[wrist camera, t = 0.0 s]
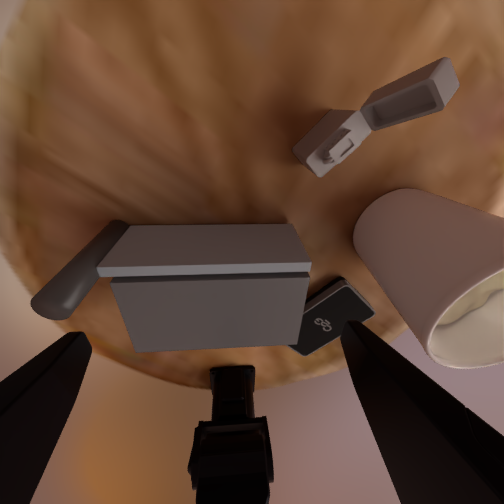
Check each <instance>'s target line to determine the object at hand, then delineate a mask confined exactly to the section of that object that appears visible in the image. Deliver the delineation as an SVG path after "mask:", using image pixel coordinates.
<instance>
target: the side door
mask: <svg viewBox="0 0 504 504" xmlns="http://www.w3.org/2000/svg"><path fill="white" fill-rule="evenodd" d="M311 264H312V262H311V260H310V258H309V256H308V254H307V252H306V250H305V248H304V246H303V244H302V242H301V240H300V238H299V236H298V235H297V233H296V231H295V229H294V227H293V225H292V224H226V225H134V226H129V225H128V224H127V223H125V222H124V221H121V220H113V221H111V222H110V223H109V224H108V225H107V226H106V227H105V228H104V229H103V230H102V231H101V232H100V233H98V234H97V235H96V236H95V237H94V238H93V239H92V240H91V241H90V242H89V243H88V244H87V245H86V246H85V247H84V248H83V249H82V250H81V251H80V252H79V253H78V254H77V255H76V256H75V257H74V258H73V259H72V260H71V261H70V262H69V263H68V264H67V265H66V266H65V267H64V268H63V269H62V270H61V271H60V272H59V273H58V274H57V275H55V276H54V277H53V278H52V279H51V280H50V281H49V282H48V283H47V284H46V285H45V286H44V287H43V288H42V289H41V290H40V291H39V292H38V293H37V294H36V295H35V296H34V297H33V298H32V299H31V307H32V309H33V310H34V311H35V312H36V313H37V314H39V315H41V316H42V317H45V318H47V319H51V320H64V319H67V318H69V317H70V316H71V314H72V313H73V312H74V310H75V309H76V308H77V306H78V305H79V304H80V302H81V301H82V300H83V298H84V297H85V296H86V294H87V293H88V292H89V291H90V289H91V288H92V287H93V285H94V284H95V283H96V281H97V280H98V279H99V277H121V276H158V275H195V274H232V273H269V272H306V271H310V269H311Z"/></svg>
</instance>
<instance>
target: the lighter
mask: <svg viewBox="0 0 504 504" xmlns="http://www.w3.org/2000/svg"><path fill="white" fill-rule="evenodd" d="M459 86H460V84H459V82H458V79H457V76H456V74H455V71H454V68H453V66H452V63H451V60H450V58H447V57H443V58H441V59H439V60H436V61H434V62H432V63H430V64H428V65H426V66H424V67H422V68H420V69H418V70H416V71H414V72H412V73H410V74H408V75H406V76H404V77H402V78H400V79H398V80H396V81H393V82H391V83H389V84H387V85H385V86H383V87H381V88H379V89H377V90H375V91H373V92H372V94H371V95H370V96H369V98H368V99H367V100H366V102H365V103H364V104H363V106H362V107H361V109H360V111H353V110H330V111H329V112H328V113H327V114H326V115H325V116H324V117H323V118H322V119H321V120H320V121H319V122H318V123H317V124H316V125H315V126H314V127H313V128H312V129H311V130H310V131H309V132H308V133H307V134H306V135H305V136H304V137H303V138H302V139H301V140H300V141H299V142H298V143H297V144H296V145H295V146H294V147H293V148H292V152H293V153H294V154H295V156H296V157H297V158H298V159H299V160H300V162H301V163H302V164H303V165H304V166H306V167H307V168H308V169H309V170H311V171H312V172H313V173H314V174H315V175H317V176H318V177H323V176H324V175H325V174H326V173H327V172H328V171H329V170H331V169H332V168H333V167H334V166H335V165H336V164H340V163H341V162H342V161H343V160H344V159H345V158H346V157H347V156H348V155H350V154H351V153H352V152H353V151H354V150H355V149H356V148H357V147H358V146H360V145H361V142H362V141H363V140H364V139H365V138H366V137H367V136H368V135H369V134H370V133H371V130H374V131H376V130H379V129H383V128H386V127H389V126H392V125H396V124H399V123H402V122H406V121H409V120H412V119H415V118H419V117H422V116H425V115H428V114H432V113H435V112H438V111H441V110H443V108H444V107H445V106H446V104H447V103H448V101H449V100H450V99H451V97H452V96H453V95H454V93H455V92H456V90H457V89H458V87H459Z"/></svg>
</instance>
